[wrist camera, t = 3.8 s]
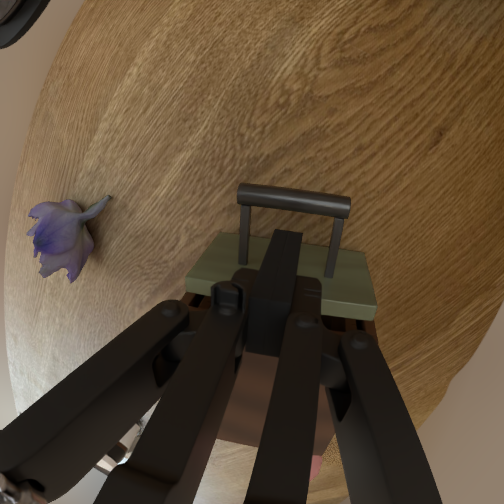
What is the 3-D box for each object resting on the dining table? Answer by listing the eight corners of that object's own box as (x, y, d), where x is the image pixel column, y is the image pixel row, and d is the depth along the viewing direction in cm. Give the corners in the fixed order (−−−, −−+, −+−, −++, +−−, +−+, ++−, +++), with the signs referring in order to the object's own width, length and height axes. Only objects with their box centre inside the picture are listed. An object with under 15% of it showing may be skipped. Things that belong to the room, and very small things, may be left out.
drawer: (221, 166, 24) (181, 190, 17) (377, 186, 22) (402, 220, 15) (219, 358, 33) (197, 411, 27) (327, 376, 31) (324, 434, 25)
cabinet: (216, 248, 28) (173, 309, 20) (364, 270, 26) (378, 343, 18) (217, 370, 36) (191, 432, 27) (326, 388, 34) (321, 456, 25)
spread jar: (112, 396, 46) (81, 443, 36) (165, 429, 47) (141, 479, 37) (101, 414, 52) (76, 454, 41) (147, 443, 53) (126, 485, 42)
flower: (52, 164, 20) (1, 256, 21) (127, 222, 25) (72, 303, 26) (68, 154, 28) (23, 225, 28) (124, 198, 33) (78, 263, 33)
